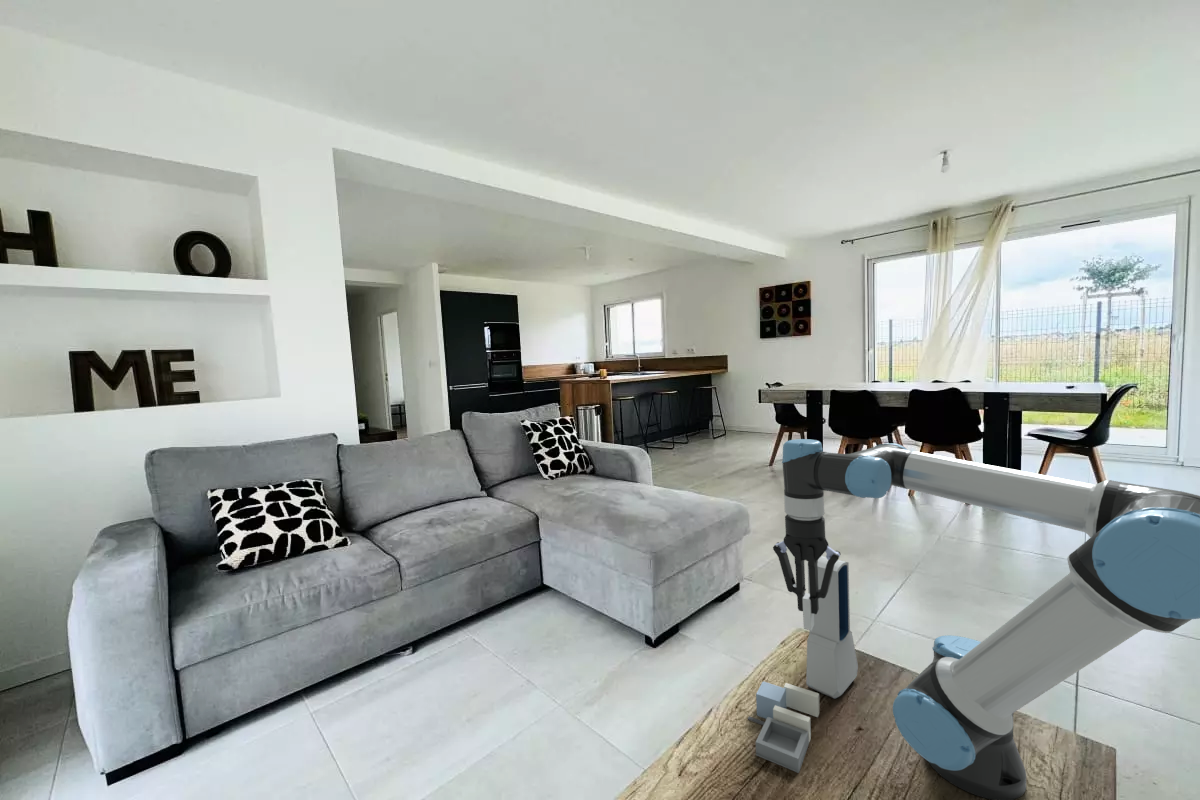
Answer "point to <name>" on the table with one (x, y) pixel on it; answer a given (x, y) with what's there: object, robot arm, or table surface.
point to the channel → (798, 708)
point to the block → (769, 699)
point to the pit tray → (782, 744)
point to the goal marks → (756, 720)
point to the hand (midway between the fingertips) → (808, 626)
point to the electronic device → (832, 636)
